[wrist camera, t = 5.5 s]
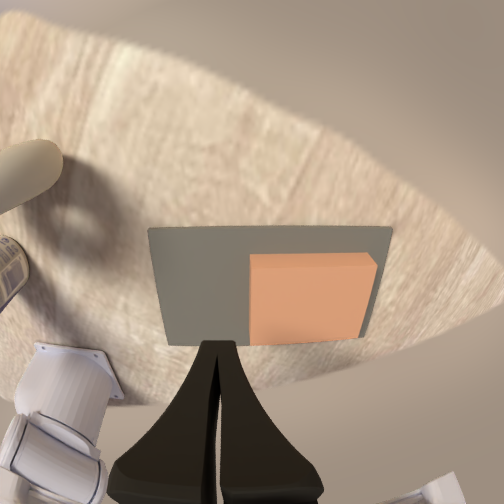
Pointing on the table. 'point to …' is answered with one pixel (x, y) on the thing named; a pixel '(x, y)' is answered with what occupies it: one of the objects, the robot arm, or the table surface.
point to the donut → (27, 171)
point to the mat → (238, 272)
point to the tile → (308, 296)
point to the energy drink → (11, 270)
